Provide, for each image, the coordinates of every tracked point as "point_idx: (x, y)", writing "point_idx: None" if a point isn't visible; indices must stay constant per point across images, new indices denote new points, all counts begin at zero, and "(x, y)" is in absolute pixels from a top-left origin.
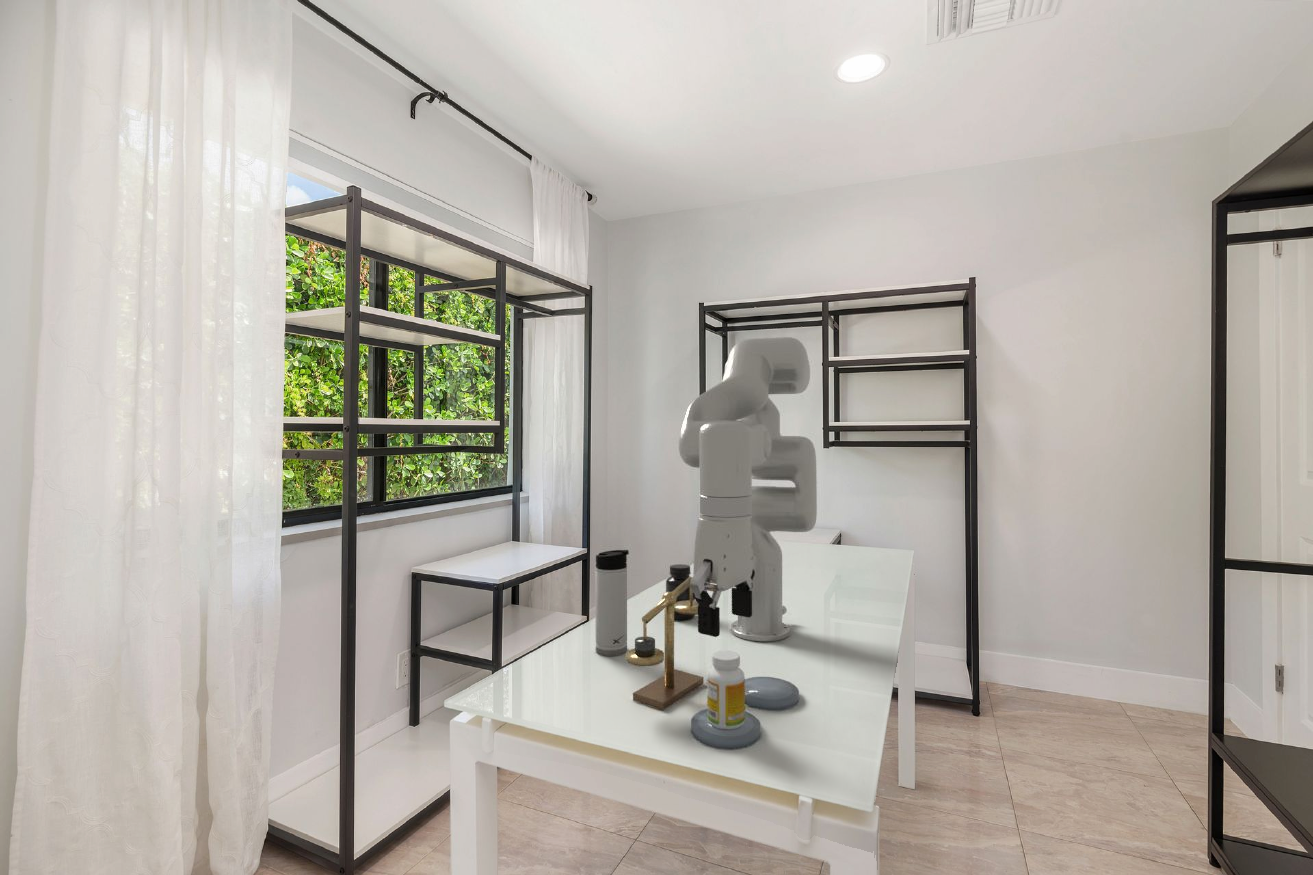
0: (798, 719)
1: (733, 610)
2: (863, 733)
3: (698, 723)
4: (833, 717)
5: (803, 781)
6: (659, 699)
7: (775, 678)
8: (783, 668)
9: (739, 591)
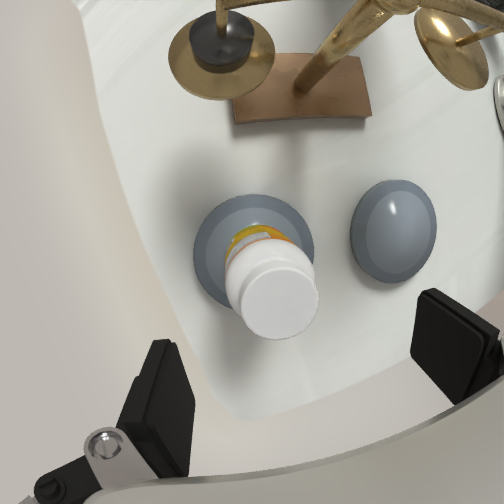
0: (356, 306)
1: (425, 305)
2: (363, 371)
3: (217, 225)
4: (384, 331)
5: (221, 385)
6: (241, 107)
7: (434, 220)
8: (469, 196)
9: (470, 372)
